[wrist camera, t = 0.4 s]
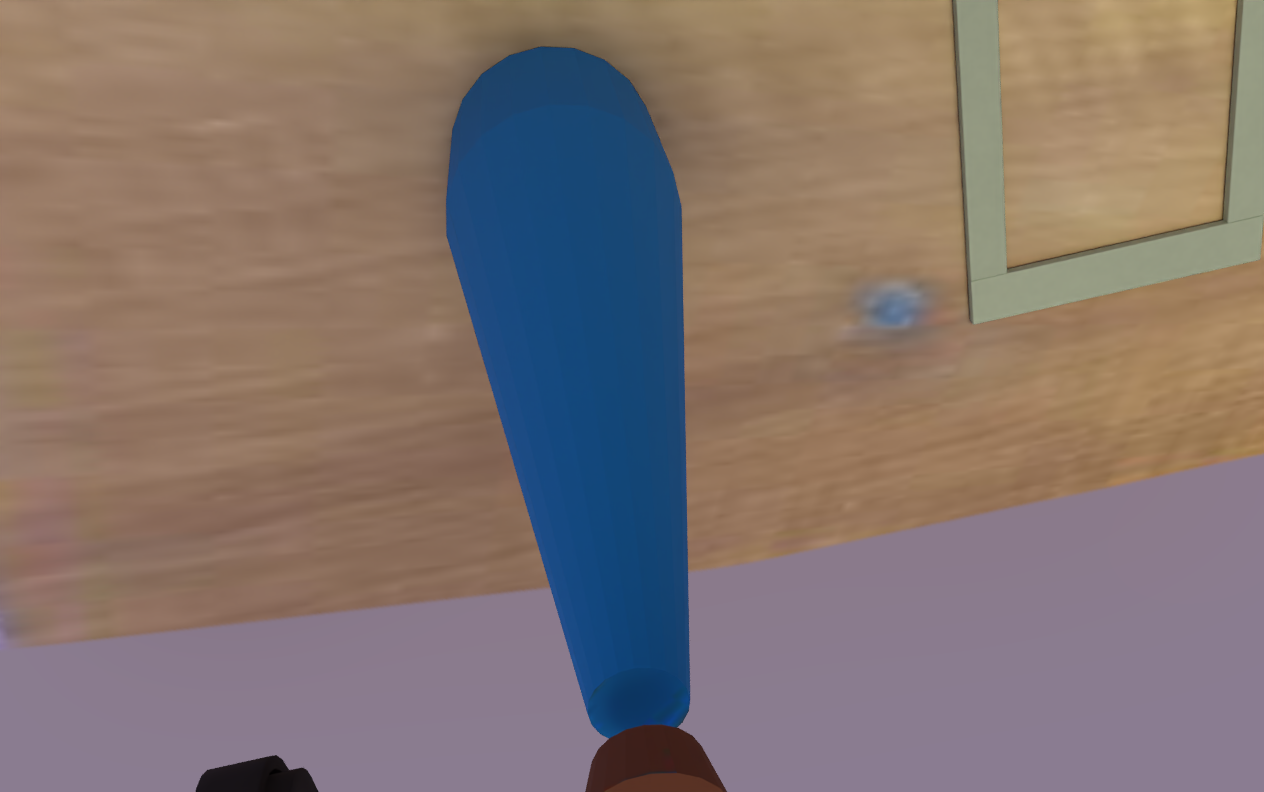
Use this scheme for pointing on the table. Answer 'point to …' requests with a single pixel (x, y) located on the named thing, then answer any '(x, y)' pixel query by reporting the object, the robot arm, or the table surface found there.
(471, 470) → the table surface
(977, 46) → the mat
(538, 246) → the bottle
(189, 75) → the table surface
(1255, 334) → the table surface
